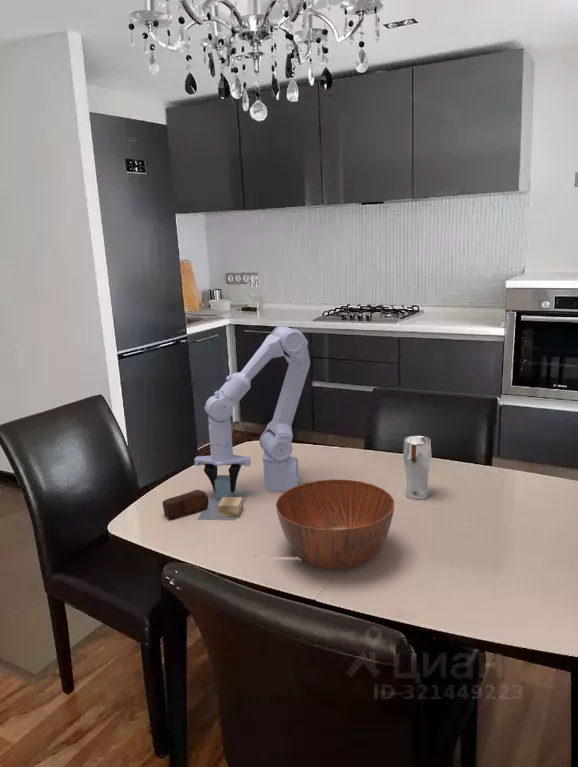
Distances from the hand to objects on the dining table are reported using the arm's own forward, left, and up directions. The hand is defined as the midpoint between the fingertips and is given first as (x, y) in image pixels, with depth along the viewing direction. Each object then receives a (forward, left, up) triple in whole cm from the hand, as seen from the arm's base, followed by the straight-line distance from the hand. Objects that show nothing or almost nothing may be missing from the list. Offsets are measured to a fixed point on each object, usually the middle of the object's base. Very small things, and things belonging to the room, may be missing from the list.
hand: (224, 490), depth 158 cm
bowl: (-31, +26, -2) cm, 41 cm away
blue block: (0, 0, -1) cm, 1 cm away
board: (-1, +5, -2) cm, 6 cm away
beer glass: (-50, -4, -2) cm, 50 cm away
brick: (+7, +10, -2) cm, 13 cm away
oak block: (-4, +10, -1) cm, 11 cm away
